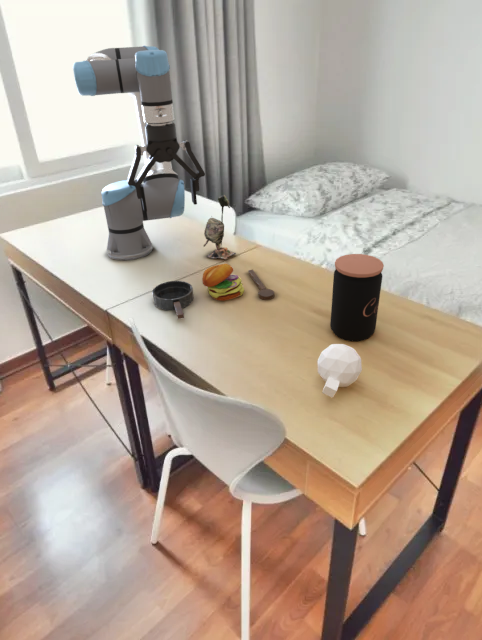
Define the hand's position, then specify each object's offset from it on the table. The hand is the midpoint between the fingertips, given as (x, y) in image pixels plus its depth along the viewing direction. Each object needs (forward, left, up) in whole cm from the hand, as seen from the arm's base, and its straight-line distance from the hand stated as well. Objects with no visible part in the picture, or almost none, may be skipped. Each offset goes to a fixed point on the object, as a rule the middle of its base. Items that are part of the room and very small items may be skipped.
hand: (170, 206), depth 125 cm
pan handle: (+20, -3, -23) cm, 31 cm away
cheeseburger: (+11, +11, -24) cm, 28 cm away
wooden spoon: (+10, +22, -23) cm, 33 cm away
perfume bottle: (+57, +23, -24) cm, 66 cm away
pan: (+10, -3, -23) cm, 26 cm away
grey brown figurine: (-16, +16, -24) cm, 32 cm away
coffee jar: (+40, +36, -24) cm, 59 cm away
